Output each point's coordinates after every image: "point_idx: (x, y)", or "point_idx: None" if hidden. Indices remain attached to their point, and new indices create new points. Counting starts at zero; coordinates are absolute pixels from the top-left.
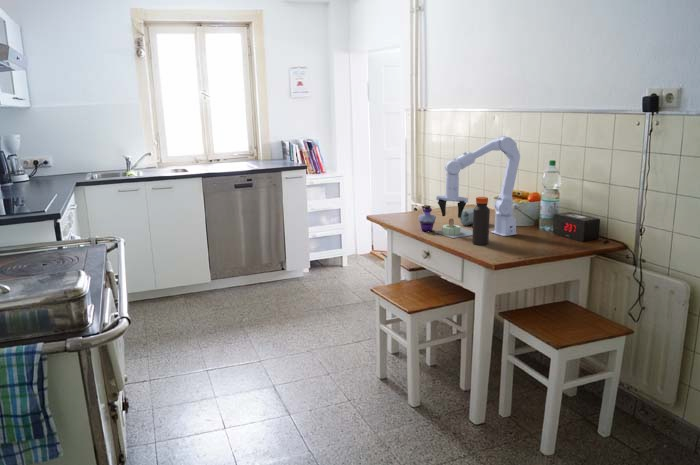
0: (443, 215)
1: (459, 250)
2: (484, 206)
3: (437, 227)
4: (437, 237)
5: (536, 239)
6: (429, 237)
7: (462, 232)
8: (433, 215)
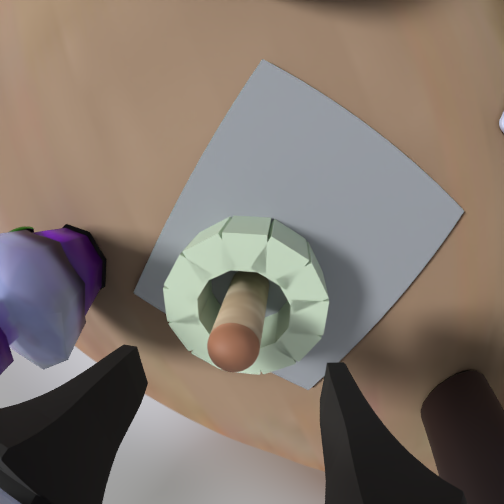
0: (142, 391)
1: None
2: None
3: (81, 138)
4: (218, 390)
5: None
6: (182, 398)
7: (331, 237)
8: (26, 287)
